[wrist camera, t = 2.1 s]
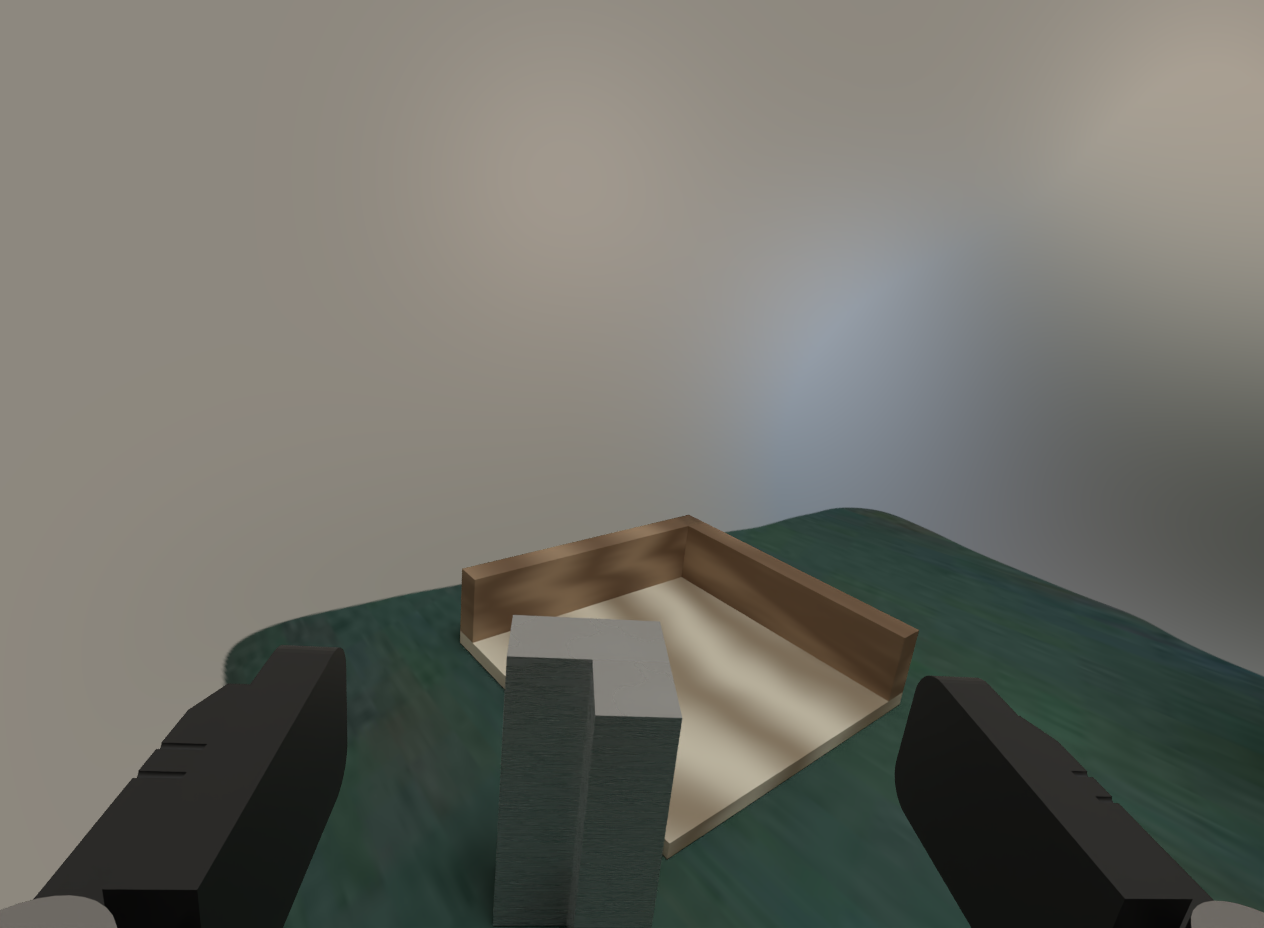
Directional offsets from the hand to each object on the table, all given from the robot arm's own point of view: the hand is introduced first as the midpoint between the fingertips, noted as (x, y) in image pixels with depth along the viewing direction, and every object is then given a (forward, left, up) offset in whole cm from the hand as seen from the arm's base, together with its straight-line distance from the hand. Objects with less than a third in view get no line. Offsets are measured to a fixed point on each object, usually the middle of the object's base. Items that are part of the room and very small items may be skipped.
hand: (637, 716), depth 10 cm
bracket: (-6, -8, -17) cm, 20 cm away
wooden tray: (-20, -17, -17) cm, 31 cm away
